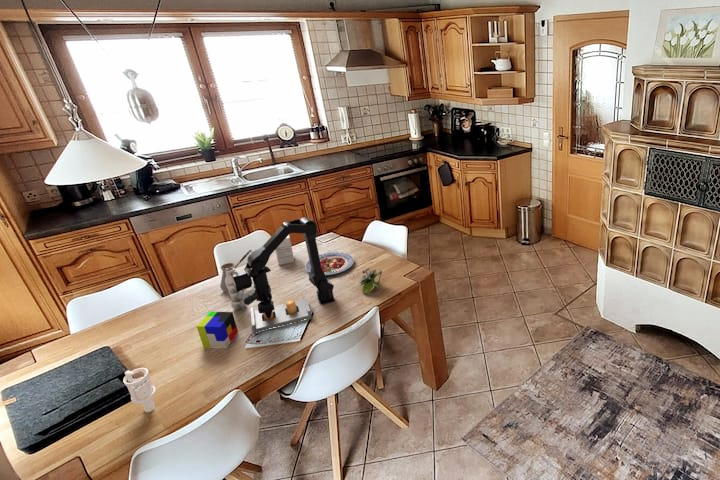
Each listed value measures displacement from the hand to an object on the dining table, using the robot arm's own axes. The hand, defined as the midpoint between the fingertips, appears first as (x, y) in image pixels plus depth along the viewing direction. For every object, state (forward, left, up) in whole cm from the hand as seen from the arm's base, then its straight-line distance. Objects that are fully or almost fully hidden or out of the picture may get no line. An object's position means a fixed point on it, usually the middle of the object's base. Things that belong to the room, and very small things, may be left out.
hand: (268, 315), depth 169 cm
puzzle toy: (+20, +5, -3) cm, 21 cm away
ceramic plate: (-35, -37, -3) cm, 51 cm away
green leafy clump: (-48, -5, -3) cm, 48 cm away
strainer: (+42, +34, -3) cm, 54 cm away
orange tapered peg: (-10, 0, -2) cm, 10 cm away
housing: (-5, 0, -2) cm, 6 cm away
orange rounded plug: (0, 0, -2) cm, 2 cm away
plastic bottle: (+12, -16, -3) cm, 20 cm away
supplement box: (-14, -56, -3) cm, 58 cm away
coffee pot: (+11, -40, -3) cm, 41 cm away
